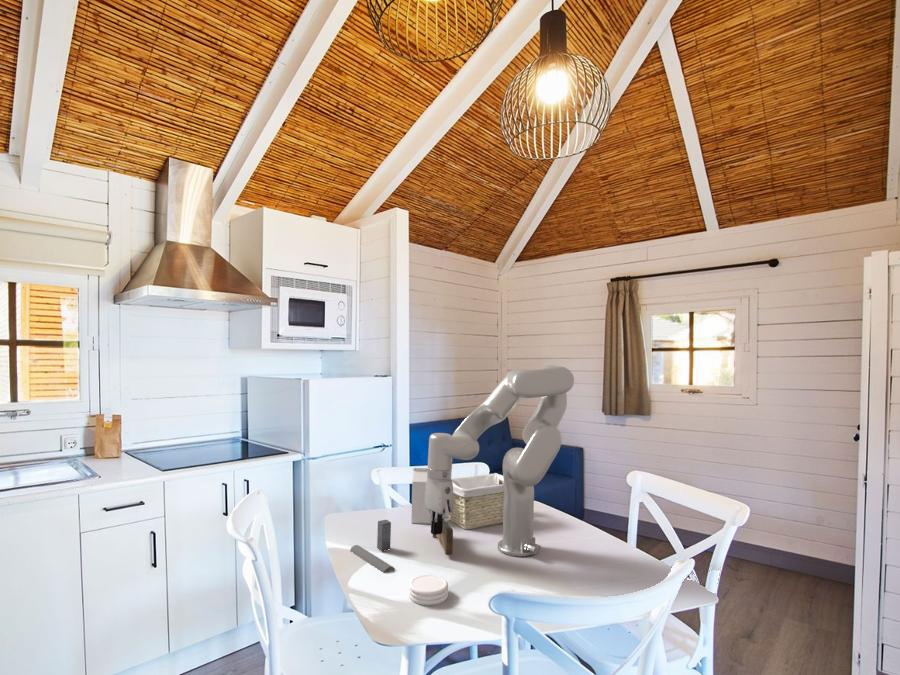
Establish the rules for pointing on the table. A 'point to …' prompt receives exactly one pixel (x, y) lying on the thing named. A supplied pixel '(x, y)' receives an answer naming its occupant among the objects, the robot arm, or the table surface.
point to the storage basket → (478, 501)
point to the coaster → (428, 589)
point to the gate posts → (385, 535)
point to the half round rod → (371, 559)
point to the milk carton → (419, 497)
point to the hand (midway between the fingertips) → (436, 533)
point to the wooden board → (446, 538)
